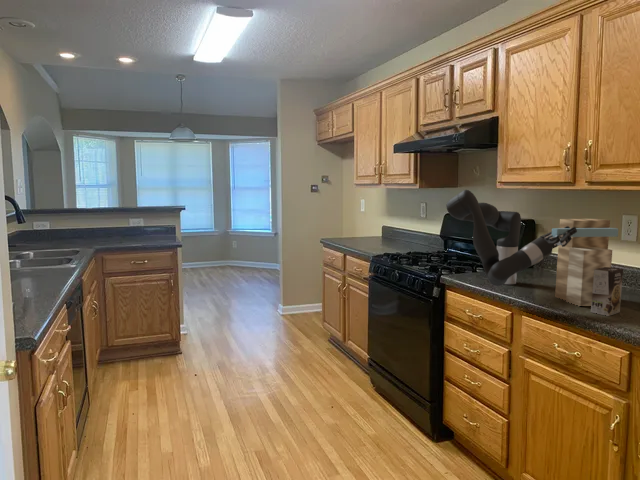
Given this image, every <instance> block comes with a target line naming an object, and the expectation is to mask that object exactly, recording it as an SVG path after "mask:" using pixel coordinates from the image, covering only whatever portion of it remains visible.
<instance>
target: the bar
mask: <svg viewBox="0 0 640 480" xmlns="http://www.w3.org/2000/svg"><path fill="white" fill-rule="evenodd" d="M569 229H571V228H560V227H556V228H555V227H553V228H551V232H552V236H553V237H554V236H556V235H558V234H562V233H564V232H566V231H568V230H569ZM576 230H577V232H576V233H575V234H573V235H571V237H609V238H610V237H611V238H612V237H614V238H615V237H619V228H617V227H610V228H576ZM564 236H565V235H564ZM564 236H563V237H564ZM559 237H560V236H559Z"/></svg>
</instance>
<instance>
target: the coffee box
mask: <svg viewBox="0 0 640 480" xmlns="http://www.w3.org/2000/svg"><path fill="white" fill-rule="evenodd" d="M623 276H624V269H623V268H617V267H611V268H609V267H603V268H598V269H594V279H593V291H592V304H591V307H590V313H592V314H596V313H597V315H601V316H605V315H606V317H609V316H612V315H615V314H618V313H619V314H620V312H621V302H622V301H621V300H622V289H623V287H622V286H623Z"/></svg>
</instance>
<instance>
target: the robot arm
mask: <svg viewBox="0 0 640 480" xmlns="http://www.w3.org/2000/svg"><path fill="white" fill-rule="evenodd" d="M445 208H446V211H447V212H448V215H450V216H451V217H453V218H455V219H456V220H460V221H468V222H473V232H472V233H473V234H472V242H473V243H472V244H473V247H474V250H475V251H476V253H477V256H478V257H479V259H480V261H481V263H482V266H483V267H482V268H483V270H484V273H485V276H486V278H487V280H488V281H489V283H490V284H491V285H492V286H495V287H501V286H503V285H516V284H517V277H518V276H517V274H518V273H522V272H523V271H526V270H527V269H528V268H530V267H533V265H536V264H538V263H540V262H541V261H543V260H544V259H546V258H547V257H549V256H551V255H552V253H553V249H555V248H557V247H558V245H562V247H565V246H566V245H567V244H568V243H569V242H570V240H571V239H572V238H571V235H573V234H575V233H576V232H577V230H576V227H572V228H571V229H569V230H568V231H566V232H564V233H562V234H558V235H556V236H554V237H553V236H552V231H550V232H547V233H546V234H543V235H540V236H539V237H537V238H536V239H534V240H532V241H531V242H529V243H527V244H526V245H524V246H523V247H521V249H519V241H520V235H521V225H522V216H521V214H520V212H518V211H510V210H509V211H508V210H505V211H504V210H500V211H499V210H498V209H497V207H496V206H494V205H493V204H490V203H487V202H479V201H478V198H476V195H475V194H474V193H473V192H472V191H470V190H469V189H463V190H462V191H460V192H459V193H457V194H455V196H453V197H451V198H450V199H448V201H447V202H446V207H445ZM487 226H488V227H489V226H490V227H492V228H493V229H495V230H496V231H499V232H508V235H507V236H504V237H501V238H498V239H497V240H496V245H495V242H494V240H493V239H492V236H491V234H490V232H489V229H488V227H487ZM565 228H570V227H569V226H566V227H565ZM564 235H565V236H564ZM559 236H560V237H559ZM563 236H564V237H563Z"/></svg>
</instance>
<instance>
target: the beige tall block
mask: <svg viewBox="0 0 640 480" xmlns="http://www.w3.org/2000/svg"><path fill="white" fill-rule="evenodd" d="M612 260H613V249H609V248H608V249H605V248H599V247H580V248H570V249H569V265H568V280H567V295H566V301H565V302H566V303H568V302H569V303H568V304H571V303H572V304H571V305H573V304H575V305H574V306H576V305H578V306H577V307H579V306H591V304H592V291H593V279H594V269H598V268H603V267H609V268H612Z"/></svg>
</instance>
